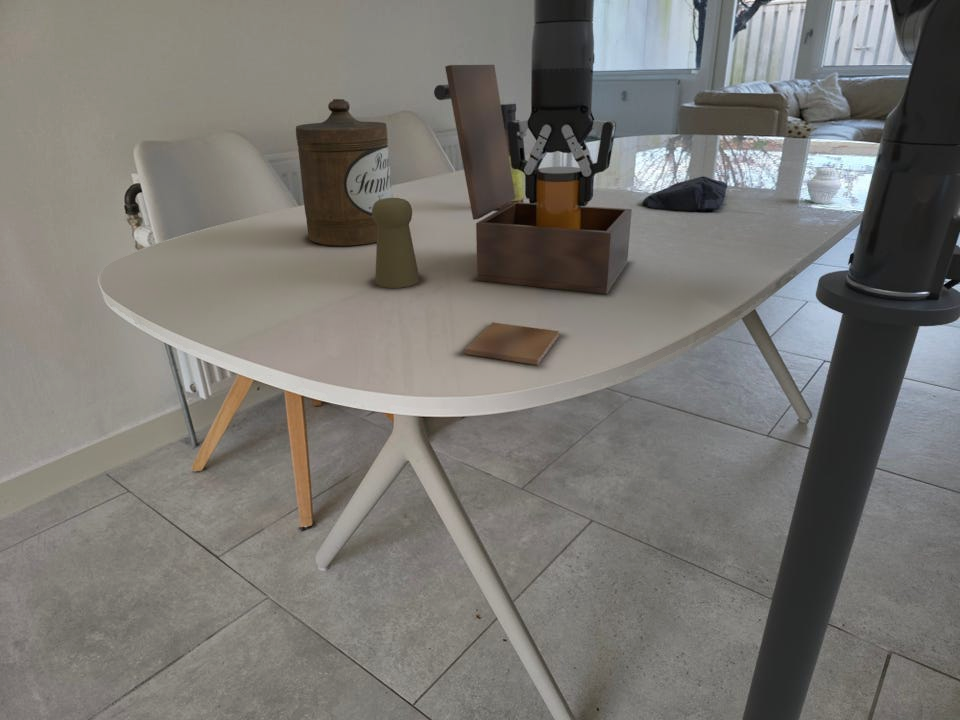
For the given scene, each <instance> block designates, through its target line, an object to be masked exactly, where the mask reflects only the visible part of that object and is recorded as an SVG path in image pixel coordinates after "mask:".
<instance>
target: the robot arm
mask: <svg viewBox="0 0 960 720" xmlns="http://www.w3.org/2000/svg"><path fill="white" fill-rule="evenodd" d="M889 4H890V9H891V15H892V20H893V26H894V32H895V37H896V41H897V45H898V48H899V50H900V53H901V55H902V56H903V57H904V59H905V61H907V62H908V64H911V67H910V70H909V73H908V78H907V81H906V84H905V87H904V91H903V94H902V95H901V97H900V99H899V102H898V103H897V104H896V106H895V107H894V109H892V110H891V111H890V113H888V115H887V116H886V119H885V121H884V124H883V128H882V133H881V136H880V137H881V139H880V142H879V146H878V150H877V154H876V158H875V162H874V166H873V169H872V170H873V171H872V174H871V178H870V182H869V187H868V191H867V194H866V198H865V199H866V200H865V203H864V207H863V211H862V215H861V220H860V224H859V228H858V231H857V236H856V239H855V244H854V248H853V252H852V253H849V259H848V262H847V265H848V270H849V272H848V274H847V277H846V281H845V284H846V286H847V287H849V288H850V289H852V290H854V291H857V292H859V293H862V294H865V295H869V296H873V297H878V298H883V299H890V300H900V301H920V300H939V298H940V294H941V291H942V288H943V286H944V287H945V288H947V289H948V290H949V289H950V288H954V287H955V286H957V285H959V284H960V246H959V245H958V240H959V237H960V0H889ZM594 8H595V0H533V24H534V25H533V32H532V40H531V64H530V65H531V66H530V67H531V70H530V71H531V75H530V76H531V77H530V79H531V81H530V83H531V85H530V87H531V88H530V89H531V90H530V91H531V93H530V98H531V99H530V106H531V107H530V108H531V109H530V115H529V117H528V118H527V120H519V119H516V121H511V122H509V123H508V124H507V131H508V140H509V149H510V158H511V166H512V168H513V169H518V170H520V171H522V172H523V173H524V197H525V198H526V200H528V203H536V170H537V169H540V166H541V165H542V162H543V160H544V158H545V157H546V156H547V154H548V153H557V152H560V153H563V154H570V153H571V154H572V156H573V159H574V161H575V162H576V164H577V165H578V168H580V170H581V172H582V177H580V195H579V206H588V204H589V202H590V201H592V199H593V197H594V185H595V183H594V182H595V176H596V174H599V173H603V172H605V171H606V170H608V169H609V168H610V164H611V158H612V153H613V146H614V140H615V135H616V130H617V129H616V128H617V122H616V121H615V120H613V119H611V120H607V121H606V120H598V119H595V117H594V115H593V112H592V102H593V83H594V82H593V81H594V64H595V35H594V11H595V10H594ZM593 129H594V131H595V136H596V138H597V139H598V140H599V146H598V153H597V159H596V162H594V161H593V159H592V156H591V152H590V150H589V146H588V145H587V142H586V139H587V137H589V134H590V133H591V132H592V131H593ZM528 130H529V131H530V133H531V135H532V136H533V137H534V139H535V140H536V141H535V143H534V145H533V148H532V150H531V151H530V154H529V158H528V159H526V153H525V141H524V138H525V137H526V136H527V132H528ZM946 280H949V281H947V282H945V281H946Z"/></svg>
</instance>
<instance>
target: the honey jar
mask: <svg viewBox="0 0 960 720" xmlns="http://www.w3.org/2000/svg"><path fill="white" fill-rule="evenodd" d="M580 177H582V172H581V170H580V167H577V166H546V167H539V168H538V169H537V170H536V226H542V227H556V228H569V229H580V221H581V206H579V195H580Z"/></svg>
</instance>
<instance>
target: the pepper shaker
mask: <svg viewBox="0 0 960 720" xmlns="http://www.w3.org/2000/svg"><path fill="white" fill-rule="evenodd" d="M372 217H373V220H374V222H375V223H376V224H377V225H378V227H377V242H376V251H375V252H376V254H375V255H376V256H375V276H374V277H375V279H374V283H375V285H377V286H378V287H381V288H388V289H401V288H408V287H412V286H414V285H417V284H418V283H419V282H420V275H419V274H420V273H419V269H418V263H417V259H416V258H417V257H416V254H415V248H414V244H413V239H412V233H411V228H410V223H411V221H412V218H413V208H412V204H411V203H410V202H409V201H408V200H407V199H406V198H405V199H404V198H400V197H393V198H385V199H381V200H378V201H376V202H375V203H374V205H373V208H372Z"/></svg>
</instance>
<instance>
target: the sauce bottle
mask: <svg viewBox="0 0 960 720" xmlns="http://www.w3.org/2000/svg"><path fill="white" fill-rule="evenodd" d="M500 104H501V110H502V116H503V123H504V129H505V135H506V142H507V148H508V154H509V161H510V167H511V174H512V180H513V186H514V193H515V199H514V200H512V201H510V202H508V203H506V204H505V205H503V206H501V207H499V208H497V209H496V210H500V209H502V208H504V207H506V206H507V205H509V204H511V203H512V202H521V203H525V202H524V200H525V174H524V173H523V172H522V171H520V170H518V169H513V168H512V166H511V158H510V149H509V140H508V131H507V124H508V123H509V122H511V121H516V120H517V118H516V115H517V114H516V112H517V103H516V102H503V103H501V102H500Z"/></svg>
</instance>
